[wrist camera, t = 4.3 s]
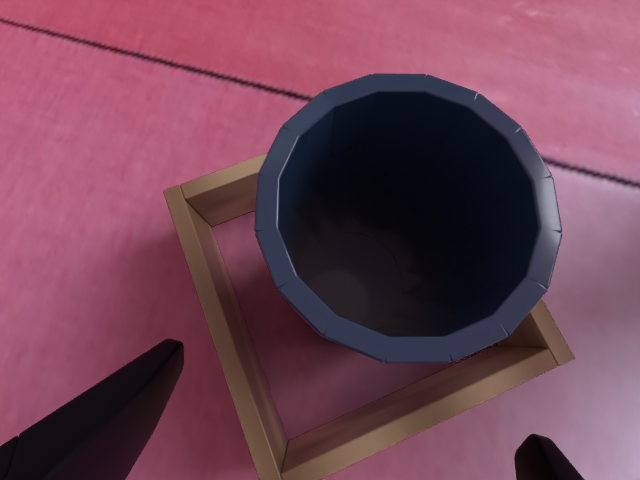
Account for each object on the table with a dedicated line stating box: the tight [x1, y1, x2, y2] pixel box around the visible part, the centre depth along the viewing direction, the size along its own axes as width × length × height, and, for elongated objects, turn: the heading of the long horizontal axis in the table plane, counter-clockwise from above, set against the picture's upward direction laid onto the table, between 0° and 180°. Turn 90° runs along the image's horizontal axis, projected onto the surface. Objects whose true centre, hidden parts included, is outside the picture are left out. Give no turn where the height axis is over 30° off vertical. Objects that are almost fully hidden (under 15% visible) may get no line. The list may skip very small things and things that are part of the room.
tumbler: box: [254, 74, 562, 364], centre depth 14 cm, size 6×6×13 cm
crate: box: [163, 153, 575, 480], centre depth 18 cm, size 14×14×4 cm
